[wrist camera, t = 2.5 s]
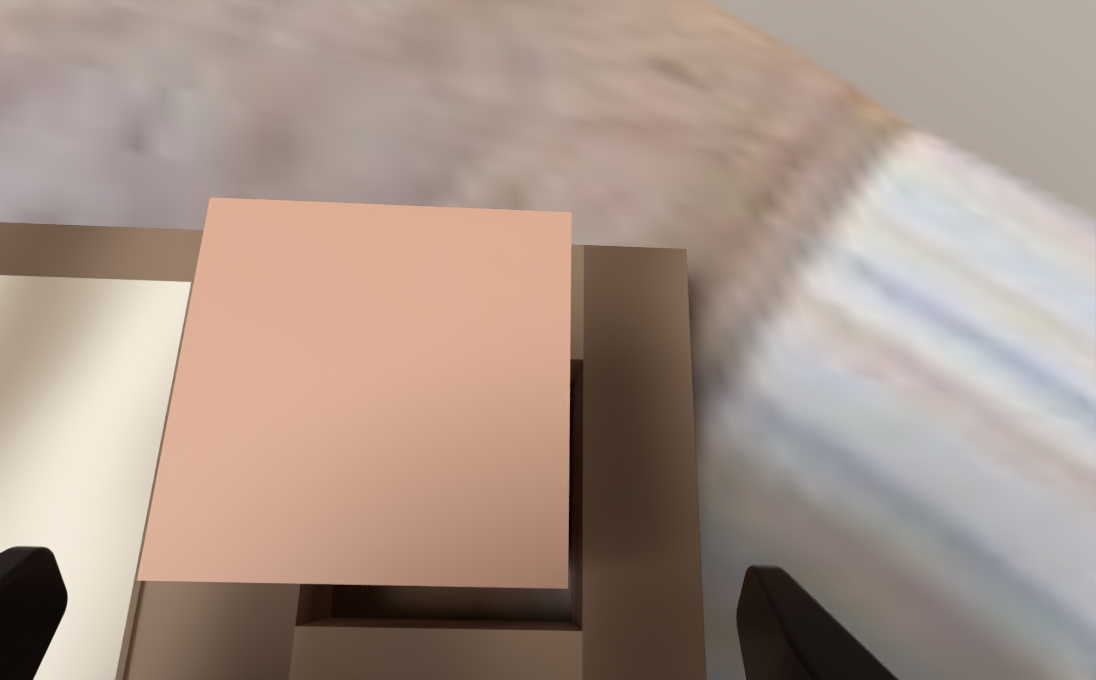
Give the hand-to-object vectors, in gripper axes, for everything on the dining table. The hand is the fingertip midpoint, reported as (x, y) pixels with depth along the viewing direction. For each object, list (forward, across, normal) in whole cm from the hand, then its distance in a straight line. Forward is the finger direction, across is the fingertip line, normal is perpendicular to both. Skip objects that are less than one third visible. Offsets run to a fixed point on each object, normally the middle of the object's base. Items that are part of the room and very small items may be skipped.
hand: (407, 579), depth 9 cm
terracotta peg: (+8, 0, +5) cm, 9 cm away
